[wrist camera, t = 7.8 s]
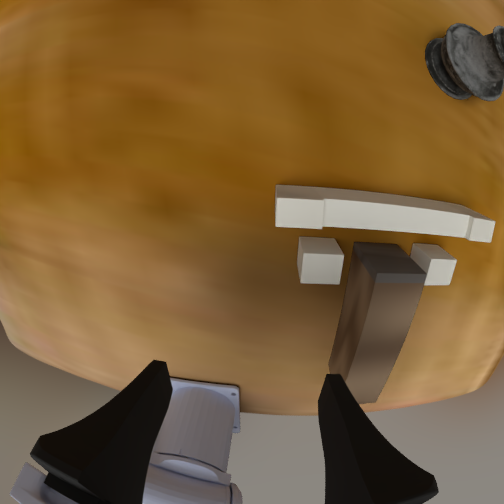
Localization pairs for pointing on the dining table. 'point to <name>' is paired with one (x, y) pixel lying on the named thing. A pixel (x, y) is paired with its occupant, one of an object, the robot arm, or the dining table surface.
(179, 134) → the dining table surface
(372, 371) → the block
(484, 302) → the dining table surface
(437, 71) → the dark grey tall piece
